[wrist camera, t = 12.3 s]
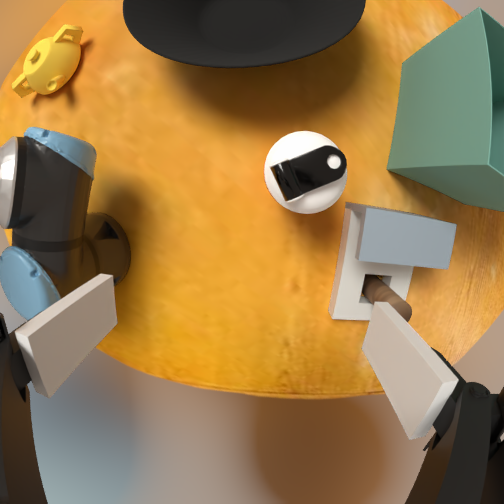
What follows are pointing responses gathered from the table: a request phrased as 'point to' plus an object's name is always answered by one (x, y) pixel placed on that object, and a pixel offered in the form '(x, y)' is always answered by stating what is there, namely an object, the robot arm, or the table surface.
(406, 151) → the box
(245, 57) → the bowl
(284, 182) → the shaker bottle
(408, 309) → the peg
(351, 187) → the table surface
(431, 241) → the socket station
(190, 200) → the table surface
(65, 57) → the teapot
